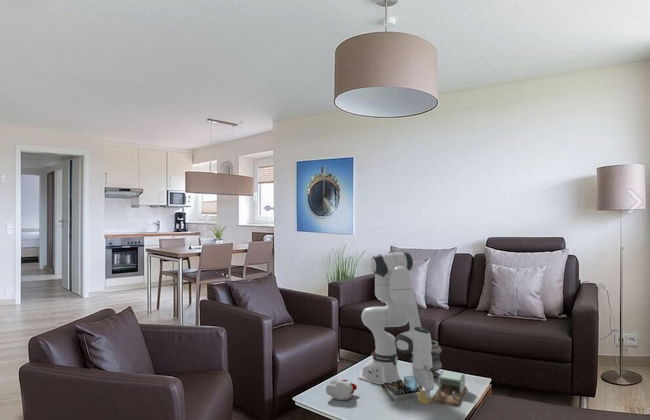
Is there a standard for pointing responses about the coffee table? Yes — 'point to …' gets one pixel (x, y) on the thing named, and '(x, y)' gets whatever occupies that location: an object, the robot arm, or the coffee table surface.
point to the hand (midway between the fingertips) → (423, 392)
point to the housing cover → (452, 379)
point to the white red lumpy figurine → (340, 389)
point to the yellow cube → (423, 397)
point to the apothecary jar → (435, 359)
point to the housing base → (449, 395)
